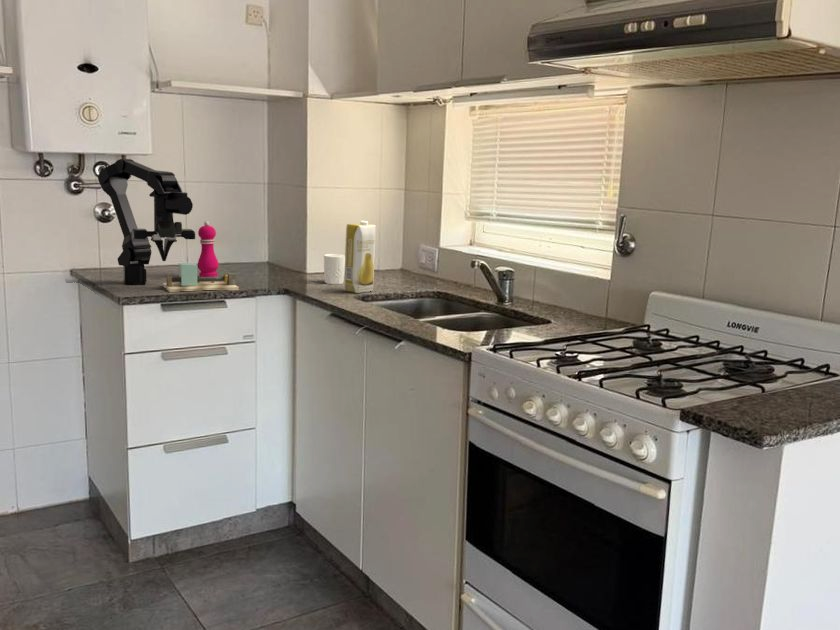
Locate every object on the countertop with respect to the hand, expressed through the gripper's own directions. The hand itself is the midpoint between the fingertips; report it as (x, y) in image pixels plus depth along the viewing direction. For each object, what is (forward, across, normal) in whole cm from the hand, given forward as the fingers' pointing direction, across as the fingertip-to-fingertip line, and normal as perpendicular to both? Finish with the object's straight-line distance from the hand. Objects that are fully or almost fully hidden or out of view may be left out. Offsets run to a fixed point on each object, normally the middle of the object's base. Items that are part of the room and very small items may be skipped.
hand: (163, 261), depth 254 cm
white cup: (+9, +60, +3) cm, 60 cm away
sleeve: (+8, +8, 0) cm, 11 cm away
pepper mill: (+9, +19, +20) cm, 29 cm away
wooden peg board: (+9, +12, 0) cm, 15 cm away
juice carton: (+9, +62, -15) cm, 64 cm away
